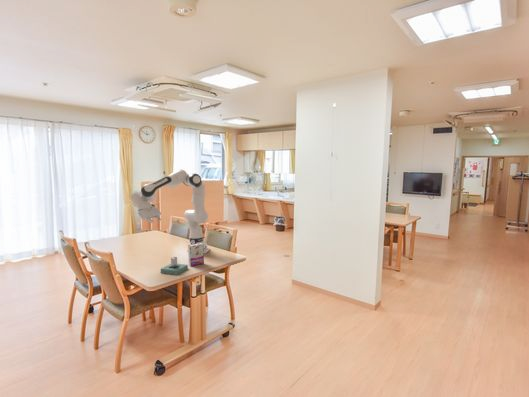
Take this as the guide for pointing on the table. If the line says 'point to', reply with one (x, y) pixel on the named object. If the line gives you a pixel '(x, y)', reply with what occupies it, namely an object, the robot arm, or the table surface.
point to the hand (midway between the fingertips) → (156, 221)
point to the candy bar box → (196, 254)
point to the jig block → (174, 271)
